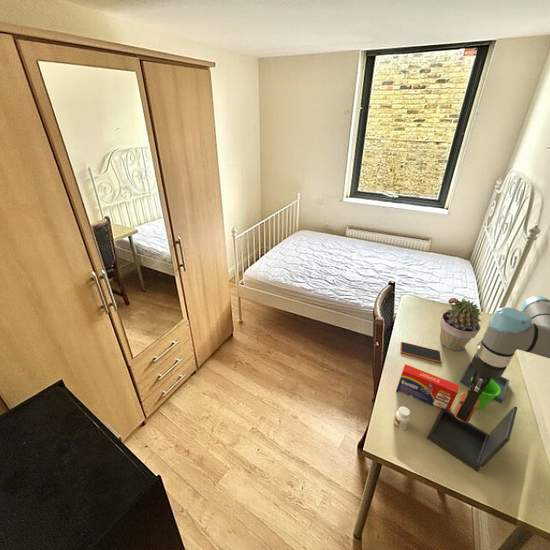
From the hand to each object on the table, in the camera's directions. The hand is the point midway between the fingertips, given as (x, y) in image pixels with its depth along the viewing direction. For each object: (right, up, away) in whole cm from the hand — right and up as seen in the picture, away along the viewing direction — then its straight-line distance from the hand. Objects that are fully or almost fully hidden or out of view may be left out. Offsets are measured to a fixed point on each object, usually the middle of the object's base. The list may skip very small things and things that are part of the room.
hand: (463, 412), depth 92 cm
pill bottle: (-16, -9, +10) cm, 21 cm away
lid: (+7, -5, -5) cm, 10 cm away
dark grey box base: (+1, -12, +5) cm, 13 cm away
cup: (+16, -6, +18) cm, 24 cm away
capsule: (0, -2, +1) cm, 2 cm away
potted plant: (+25, +11, +47) cm, 54 cm away
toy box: (-4, -4, +19) cm, 20 cm away
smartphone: (+6, +8, +41) cm, 42 cm away
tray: (+25, -1, +26) cm, 36 cm away
